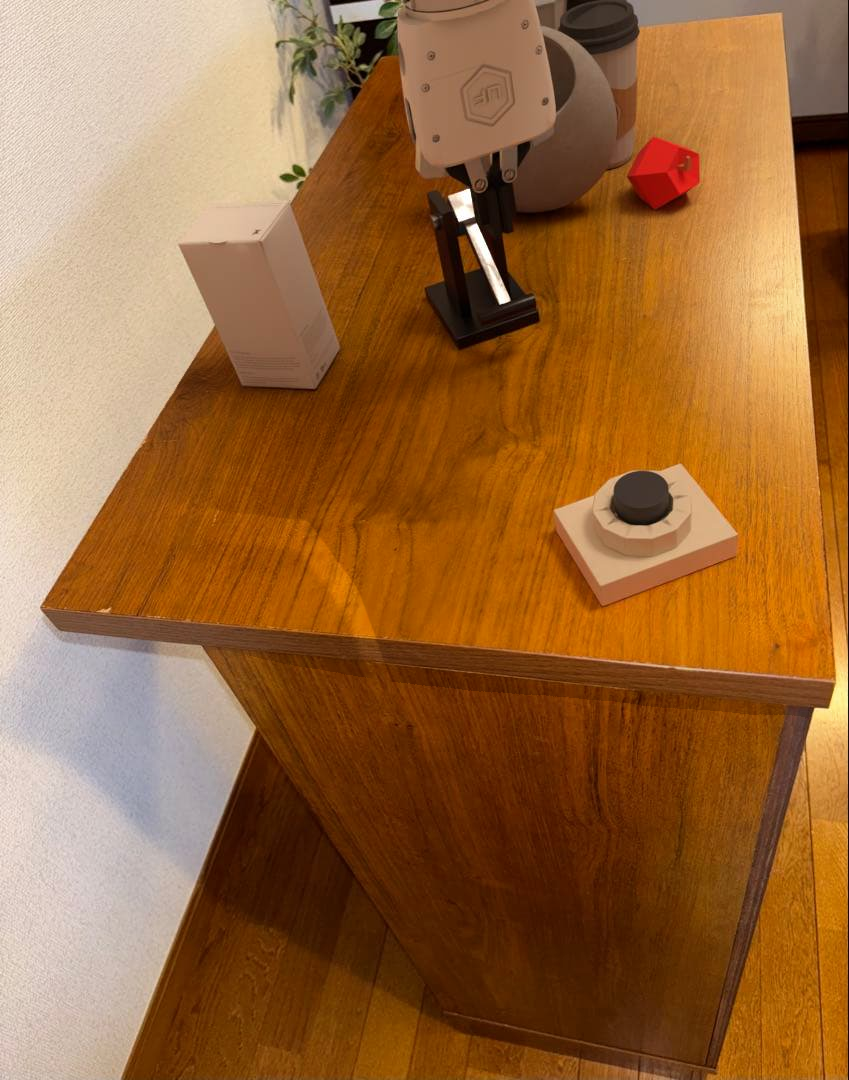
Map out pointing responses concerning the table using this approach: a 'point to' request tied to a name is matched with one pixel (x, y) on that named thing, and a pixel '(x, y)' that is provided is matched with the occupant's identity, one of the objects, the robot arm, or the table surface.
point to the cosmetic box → (262, 293)
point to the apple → (663, 172)
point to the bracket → (468, 283)
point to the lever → (486, 263)
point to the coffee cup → (611, 59)
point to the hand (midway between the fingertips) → (497, 227)
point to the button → (641, 498)
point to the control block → (644, 538)
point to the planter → (568, 132)
